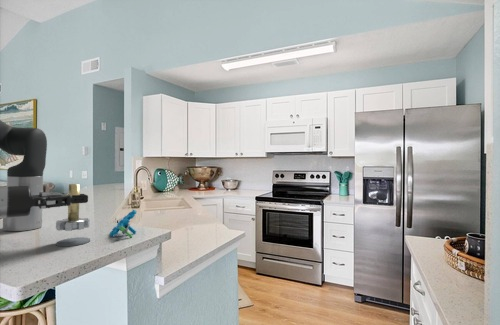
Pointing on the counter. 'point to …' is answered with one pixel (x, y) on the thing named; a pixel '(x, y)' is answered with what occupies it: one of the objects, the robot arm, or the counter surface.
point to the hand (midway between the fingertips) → (86, 198)
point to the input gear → (73, 214)
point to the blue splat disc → (124, 225)
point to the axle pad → (73, 241)
